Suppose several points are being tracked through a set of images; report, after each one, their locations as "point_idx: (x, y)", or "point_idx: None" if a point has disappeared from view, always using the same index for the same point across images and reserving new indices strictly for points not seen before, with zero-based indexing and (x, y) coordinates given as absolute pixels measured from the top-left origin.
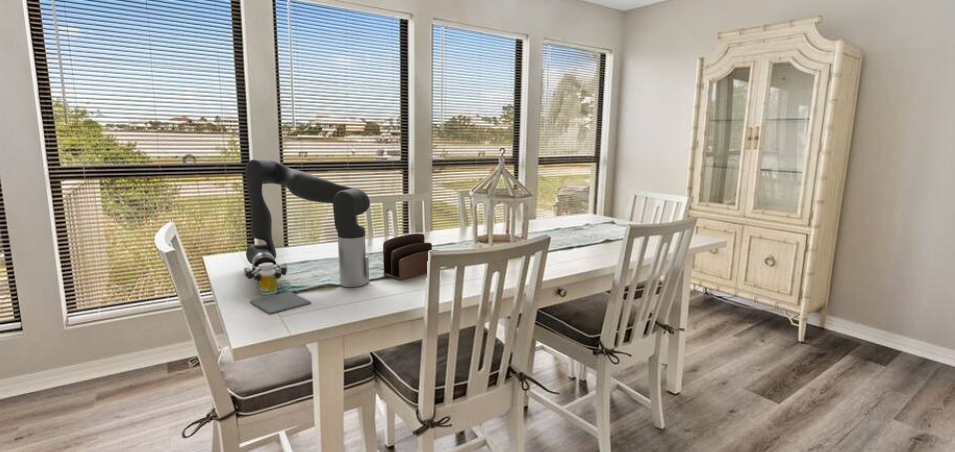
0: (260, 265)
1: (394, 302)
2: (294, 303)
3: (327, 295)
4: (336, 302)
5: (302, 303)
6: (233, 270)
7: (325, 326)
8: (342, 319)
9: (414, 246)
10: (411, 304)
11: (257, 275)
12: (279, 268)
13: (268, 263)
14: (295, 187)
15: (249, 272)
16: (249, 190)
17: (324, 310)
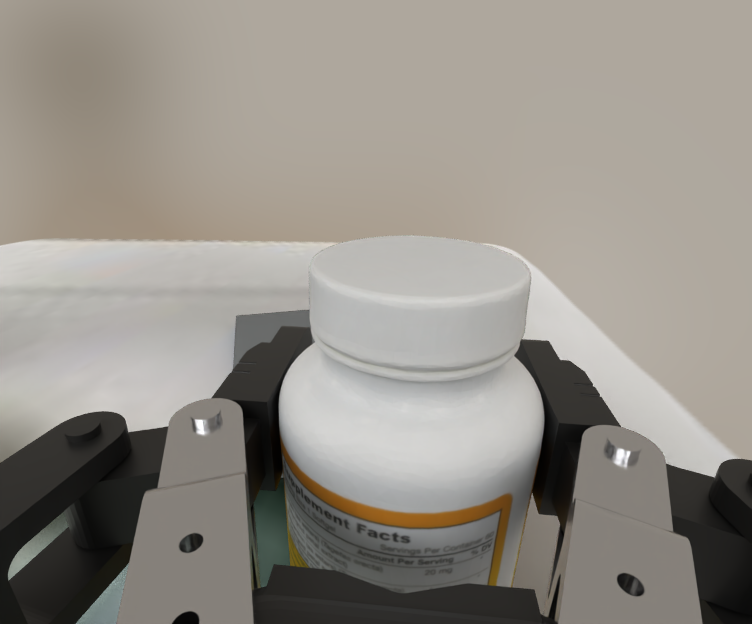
0: (520, 263)
1: (14, 263)
2: (309, 323)
3: (84, 364)
4: (145, 305)
5: (278, 314)
6: None
7: (302, 243)
8: (242, 249)
9: None
10: (8, 249)
11: (536, 343)
12: (176, 424)
13: (384, 268)
14: None
15: (739, 467)
16: None
17: (240, 282)
